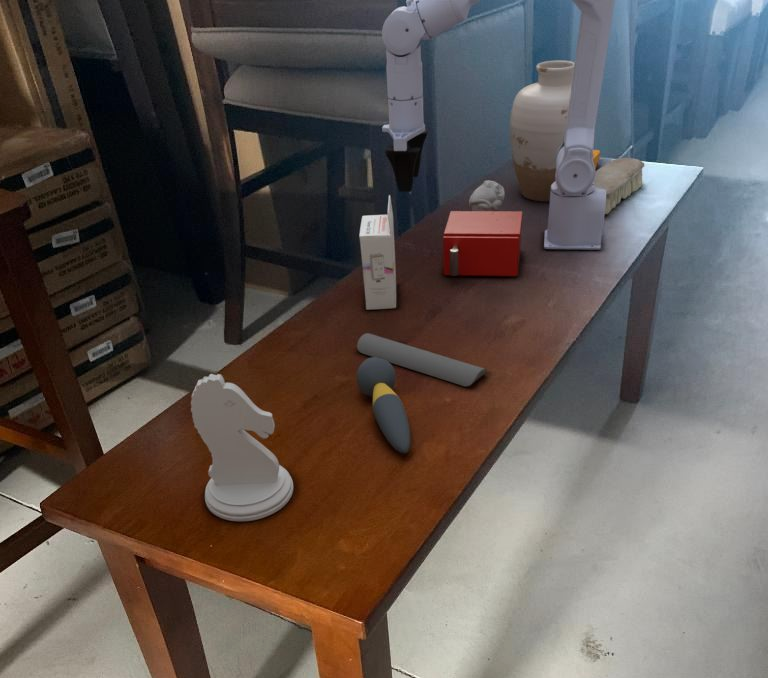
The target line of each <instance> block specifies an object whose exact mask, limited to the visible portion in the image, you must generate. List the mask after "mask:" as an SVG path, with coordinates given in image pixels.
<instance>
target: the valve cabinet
mask: <svg viewBox="0 0 768 678" xmlns="http://www.w3.org/2000/svg"><path fill="white" fill-rule="evenodd" d="M522 225H523V211H522V210H521V211H519V210H516V211H513V210H507V211H505V210H503V211H502V210H499V211H472V210H466V211H465V210H451V211H450V212H449V216H448V219H447V222H446V225H445V229H444V232H443V237H444V236H497V237H518V255H517V273H516V276H515V277H518V276H519V268H520V267H519V266H520V259H521V258H520V257H521V244H522V229H523V228H522V227H523V226H522ZM457 276H460V277H462V276H464V277H466V276H467V277H469V276H470V277H498V276H497V275H457Z"/></svg>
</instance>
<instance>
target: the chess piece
mask: <svg viewBox="0 0 768 678" xmlns="http://www.w3.org/2000/svg"><path fill="white" fill-rule="evenodd" d="M190 398H191V400H190V405H191V406H190V407H191V408H190V412H191V413H192V414H191V418H192V423H193V424H194V425H193V426H194V427H193V428H194V429H196V430H197V434H199V435H200V438H201V439H202V441H203V443H204V444H205V445H206V447H207V448H208V451H209V452H210V454H211V456H210V457H211V458H212V459H211V460H212V461H211V462H212V463H211V464H210V465H209V468H208V471H207V474H208V477H210V479H209V481H208V482H207V484H206V486H205V490H204V501H205V505H206V507H207V509H208V510H209V511H210V512H211V514H213V515H215V516H216V517H217V518H220V519H222V520H226V521H230V522H251V521H256V520H260V519H261V520H262V519H264V518H266V517H269V516H271V515H273V514H275V513H277V512H278V511H280V510H281V509H282V508H284V507H285V506H286V505H287V504H288V502H289V501H290V500H291V498H292V496H293V493H294V482H293V479H292V476H291V474H290V473H289V471H288V470H287V469H286V468H284V466H282V465H281V464H280V462H279V460H278V458H277V457H276V455H275V454H274V453H273V452H272V451H271V450H270V449H268V448H267V447H266V446H265V445H264V444H262V443H261V442H260V441H258V440H257V438H254V437H253V436H252V435H251V434H249V432H247V431H250V432H251V431H252V432H254V433H255V434H256V435H257V436H259V437H260V438H261V439H268V438H269V436H270V435H273V434H274V432H275V427H276V425H275V424H276V423H275V420H274V418H273V413H272V412H270V411H265V410H262V409H261V408H260V407H258V406H257V405H256V404H255V403H254V402H253V401H252V400H251V399H250V397H248V395H247V394H246V393H245V391H244V390H242V388H241V387H239V386H238V385H237V384H235V383H233V382H225V378H224V377H223V375H222V374H220V373H217V374H214V373H210V374H209V375H208V376H203V378H201V379H198V380H197V382H196V385H195V387H194V389H193V391H192V394H191V396H190Z"/></svg>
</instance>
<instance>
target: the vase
mask: <svg viewBox="0 0 768 678" xmlns="http://www.w3.org/2000/svg"><path fill="white" fill-rule="evenodd" d="M574 63H575V61H571V60H558V59H557V60H546V61H542V62H539V63H537V64H536V66H535V70H536V71H537V75H538V76H537V82H534V83H531V84H528V85H526V86H524V87H522V88H521V89H520V90H519V91H518V93H517V94H516V95H515V98H514V99H513V103H512V106H511V111H510V116H509V141H510V151H511V152H510V153H511V158H512V165H513V169H514V173H515V176H516V179H517V183H518V186H519V190H520V192H521V195H522V196H523V197H524V198H525V199H527V200H531V201H535V202H550V192H551V185H552V184H553V183H554V182H555V181H556V180H555V174H556V166H555V156H556V153H557V151H558V149H559V148H560V146H561V144H562V142H563V139H564V132H565V127H566V122H567V115H568V107H569V100H570V92H571V85H572V78H573V70H574Z"/></svg>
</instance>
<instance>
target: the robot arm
mask: <svg viewBox="0 0 768 678" xmlns="http://www.w3.org/2000/svg"><path fill="white" fill-rule="evenodd" d="M481 1H482V0H406V1H405V4H406V6H405V5H404V6H399V7H397V8H396V9H394V10H393V11H392V12H391V13H390V14H389V15H388V16H387V17H386V18H385V20H384V22H383V24H382V25H383V26H382V29H381V38H382V39H381V40H382V42H383V44H384V46H385V48H386V49H385V50H386V51H385V58H386V65H385V71H386V72H385V73H386V89H387V92H386V93H387V107H388V109H387V110H388V124H383V125H382V126H381V129H382V132H383V133H388V134H389V135H390V137H391V139H392V140H393V145H386V147H385V148H384V152H385V156H386V158H387V159H388V161H389V163H390V165H391V168H392V170H393V174H394V179H395V182H396V186H397V189H398V192H400V193H409V192H412V189H413V185H414V184H413V183H414V178H418V176H419V173H420V166H421V160H422V152H423V148H424V145H425V141H426V138H427V136H428V134H429V131H428V129H426V124H425V122H424V121H425V118H424V117H425V116H424V115H425V114H424V83H423V82H424V81H423V79H424V78H423V76H424V75H423V62H422V51H421V50H422V49H421V48H422V45H421V43H420V42H421V41H430V40H432V39H434V38H435V37H437V36H439V35H441V34H442V33H445V32H446V31H448V30H450V29H452V28H453V27H456V26H457V25H459V24H461V23H463V22H465V21H467V18H468V16H469V12H470V9H471V6H473V5H475V4H477V3H479V2H481ZM572 2H573V3H574V4H575V6H576V7H577V9H578V10H579V11H580V18H579V27H578V34H577V41H576V48H575V57H574V70H573V78H572V85H571V92H570V100H569V107H568V115H567V122H566V127H565V132H564V139H563V142H562V144H561V146H560V148H559V149H558V151H557V153H556V156H555V166H556V174H555V180H556V181H555V182H554V183H553V184H552V185H551V192H550V201H549V206H548V219H547V229H545V230H544V240H543V249H545V250H582V251H583V250H585V251H586V250H587V251H588V250H589V251H590V250H591V251H592V250H594V251H596V250H597V251H599V250H601V249H602V238H603V235H604V232H605V231H604V230H605V223H604V222H605V215H606V214H605V206H606V190H605V189H598V188H595V184H594V183H593V182H594V179H595V172H596V169H595V166H594V163H593V150H594V145H595V131H596V124H597V117H598V112H599V104H600V98H601V93H602V86H603V78H604V74H605V67H606V60H607V53H608V47H609V41H610V34H611V27H612V23H613V22H612V21H613V16H614V8H615V3H616V0H572Z"/></svg>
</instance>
